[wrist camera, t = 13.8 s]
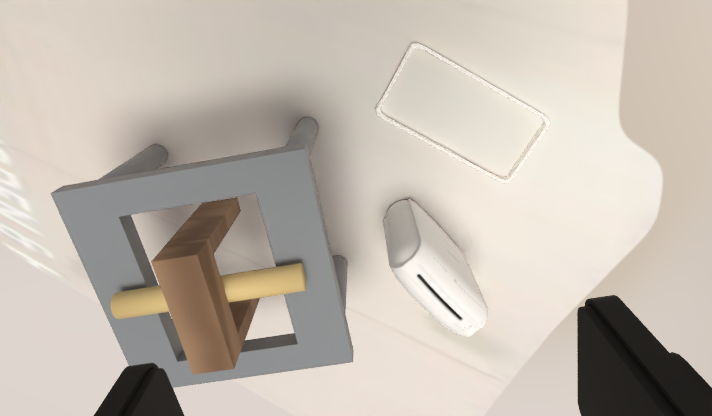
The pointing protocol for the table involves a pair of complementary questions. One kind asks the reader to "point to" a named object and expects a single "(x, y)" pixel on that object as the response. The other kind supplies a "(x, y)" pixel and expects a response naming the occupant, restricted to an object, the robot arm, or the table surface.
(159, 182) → the grey open-frame table
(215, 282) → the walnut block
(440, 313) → the photo printer
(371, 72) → the table surface
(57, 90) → the table surface
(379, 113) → the phone case
